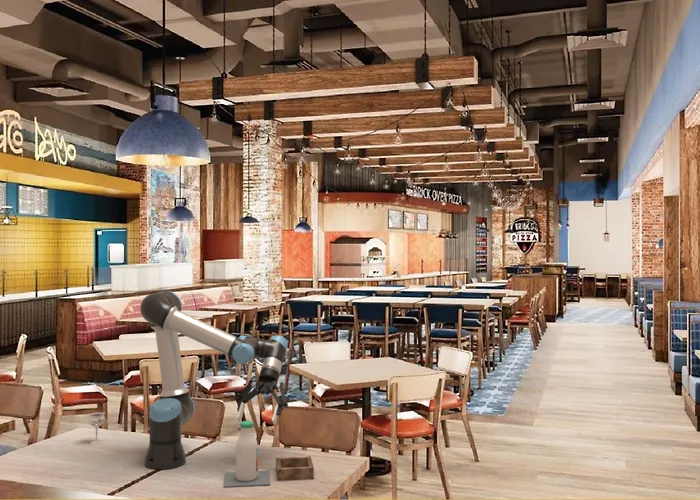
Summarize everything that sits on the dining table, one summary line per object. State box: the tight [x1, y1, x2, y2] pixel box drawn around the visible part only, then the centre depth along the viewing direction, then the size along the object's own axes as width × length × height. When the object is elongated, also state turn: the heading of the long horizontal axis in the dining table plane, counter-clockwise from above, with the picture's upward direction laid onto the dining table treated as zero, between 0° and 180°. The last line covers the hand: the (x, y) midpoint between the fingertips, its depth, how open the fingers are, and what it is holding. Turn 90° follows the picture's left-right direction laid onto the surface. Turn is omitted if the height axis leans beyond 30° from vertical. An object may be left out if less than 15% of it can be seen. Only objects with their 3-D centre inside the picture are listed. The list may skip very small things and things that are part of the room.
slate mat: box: [223, 470, 271, 489], centre depth 245 cm, size 16×14×1 cm
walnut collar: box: [275, 455, 315, 481], centre depth 251 cm, size 13×13×4 cm
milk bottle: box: [235, 420, 259, 481], centre depth 245 cm, size 8×8×20 cm
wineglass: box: [87, 411, 106, 445], centre depth 289 cm, size 7×7×12 cm
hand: (256, 421), depth 252 cm, fingers open, 13 cm apart
